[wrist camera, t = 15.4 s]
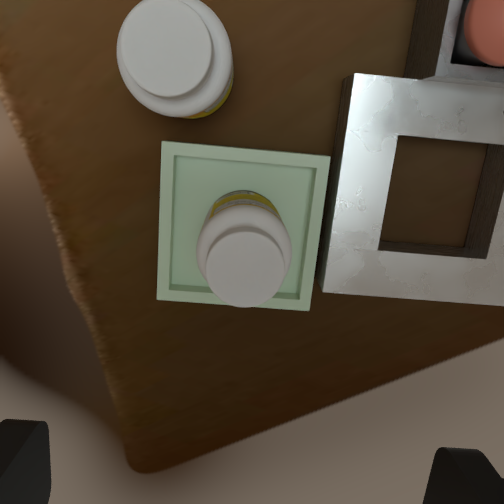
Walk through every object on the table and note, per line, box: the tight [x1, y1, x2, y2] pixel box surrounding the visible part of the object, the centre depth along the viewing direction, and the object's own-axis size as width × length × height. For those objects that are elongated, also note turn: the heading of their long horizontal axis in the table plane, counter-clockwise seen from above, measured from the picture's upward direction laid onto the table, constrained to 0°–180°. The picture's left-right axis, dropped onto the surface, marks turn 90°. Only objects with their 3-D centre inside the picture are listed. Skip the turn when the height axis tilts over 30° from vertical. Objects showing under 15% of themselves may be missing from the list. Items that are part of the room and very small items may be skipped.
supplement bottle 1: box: [117, 0, 234, 119], centre depth 23 cm, size 6×6×10 cm
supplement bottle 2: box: [196, 190, 292, 307], centre depth 26 cm, size 5×5×10 cm
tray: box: [157, 140, 331, 311], centre depth 30 cm, size 11×11×2 cm
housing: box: [316, 0, 504, 306], centre depth 27 cm, size 14×20×5 cm
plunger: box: [450, 0, 504, 66], centre depth 24 cm, size 5×5×6 cm
